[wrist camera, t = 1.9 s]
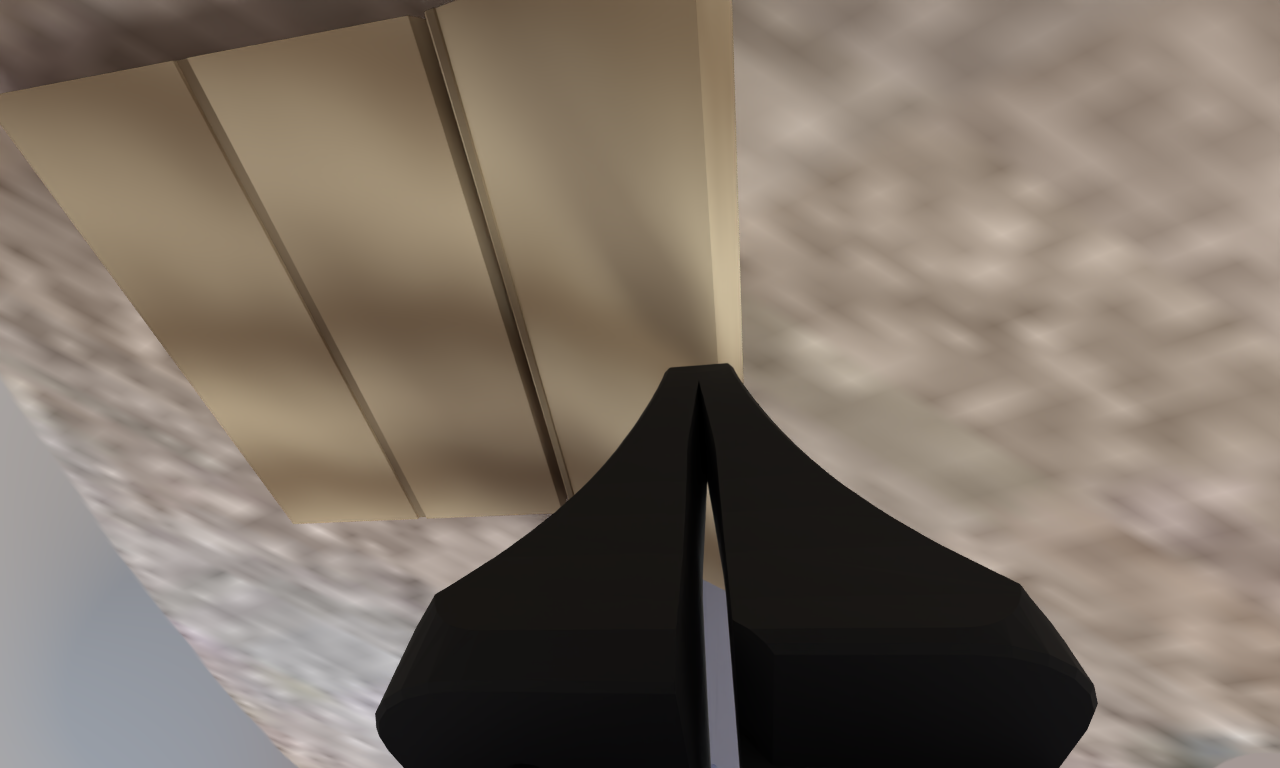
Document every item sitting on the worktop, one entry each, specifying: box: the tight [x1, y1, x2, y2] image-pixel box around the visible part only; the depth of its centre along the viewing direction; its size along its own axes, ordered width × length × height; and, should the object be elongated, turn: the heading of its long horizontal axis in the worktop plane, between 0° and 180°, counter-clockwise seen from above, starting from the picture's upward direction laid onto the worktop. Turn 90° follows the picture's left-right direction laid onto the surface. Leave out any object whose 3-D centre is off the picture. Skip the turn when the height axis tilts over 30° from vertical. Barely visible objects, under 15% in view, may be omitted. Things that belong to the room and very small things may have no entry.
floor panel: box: [0, 15, 567, 524], centre depth 17 cm, size 16×12×1 cm
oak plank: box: [424, 0, 743, 590], centre depth 14 cm, size 16×7×1 cm
